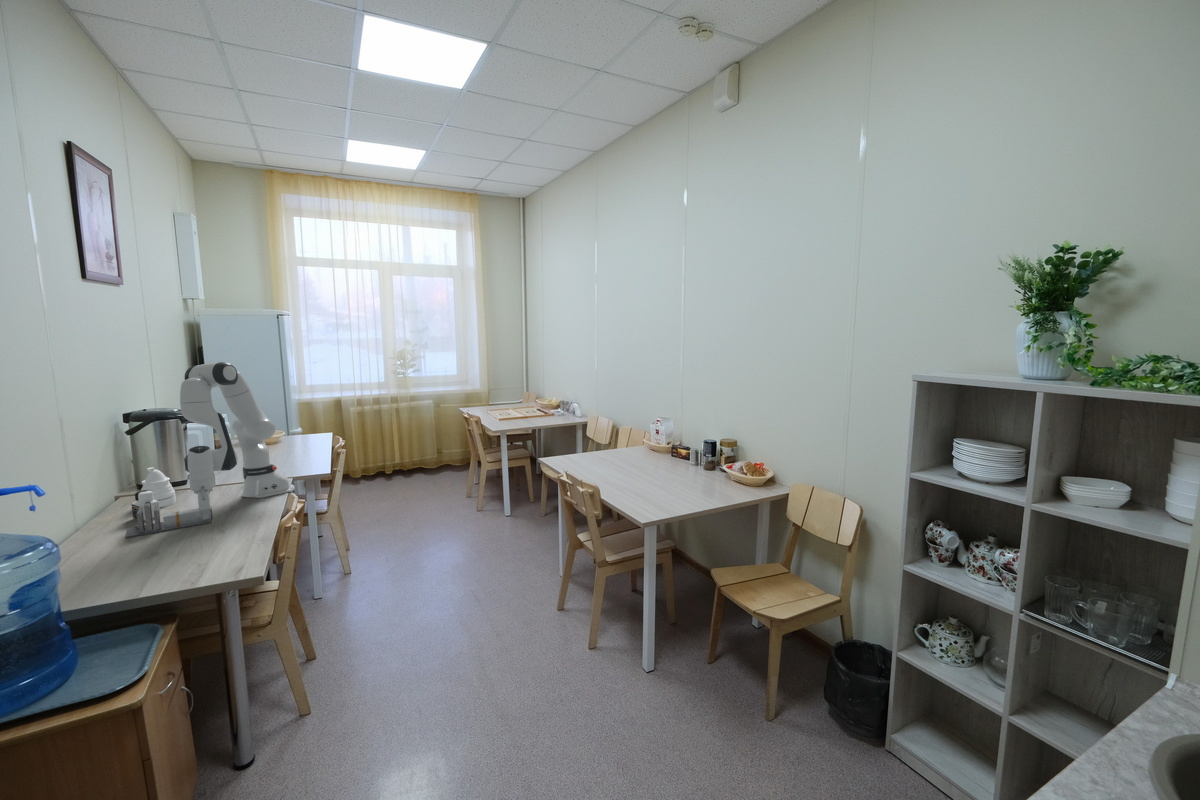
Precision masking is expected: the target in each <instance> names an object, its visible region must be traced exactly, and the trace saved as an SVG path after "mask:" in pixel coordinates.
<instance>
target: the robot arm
mask: <svg viewBox="0 0 1200 800" xmlns="http://www.w3.org/2000/svg"><path fill="white" fill-rule="evenodd" d="M215 387H216V388H219V389H220V391H221V394H222V396H223V398H224V400H225V402H226V404H227V406H228V408H229V410H230V412H231V413H232V414H233V415H234V416H235V417H236V419H235V420H234V421H233V423H232V425H231V427H232V431H233V433H235V435H236V437H237V440H238V441H237V442H238V443H239V448H240V450H241V453H242V462H243V464H242V465H243V467H242V478H243V490H242V494H241V496H242V497H243V498H257V499H263V498H266V497H271V496H276V495H277V496H278V495H281V494H285V493H291V492H293V491H295V490H296V488H295V485H294V484H292V483H290V480H289V477H287V476H286V474H285V475H284V474H282V473H281V472H278V471H277V470H278V467H277V466H276V465H275V464H273V463H271V460H270V450H269V448H268V446H267V444H266V443H265V441H266V440H269V439H271V438H273V436H274V435H275V433H276V429H277V428H276V425H275V424H274V422H272V421H271V420H270V419H269V418H268V416H267V415H266V413H265V412H264V411H263V410H262V408H261V407H260V406H259V404H258V402H257V400H256V398H255V396H254V394H253V393H252V390H251V387H250V386H249V384H248V382H247V381H246V379H245V377H244V376H243V375H242V373H241V372H239V371H238V370H237V369H236V367H235V366H234V365H233V364H232V363H230V362H226V361H220V362H206V363H203V364H196V365H193V366H191V367H188V368H187V369H186V371H185V373H184V380H183V381H182V382H181V385H180V391H179V393H180V394H179V403H180V405H179V406H180V412H181V414H182V417H184V418H185V420H187V421H189V422H191V423H195V424H197V425H198V424H199V425H202V426H208V427H211V428H213V429H214V430H215V431H216V433H217V436H218V439H219V443H220V448H218V449H217V448H215V449H212V448H211V447H210V446H208V445H207V446H206V445H197V446H193V447H191V448H189V449H188V451H187V454H186V456H185V457H184V458H183V460H184V468H185V469H184V471H186V472H188V473H189V477H188V480H189V481H188V482H189V490H190V491H191V492H193V493H194V495H197V501H198V508H199V511H202V515H203V519H207V518H208V510H210V506H211V503H210V502H211V500H210V499H211V498H210V497H211V496H210V494H211V493H212V492H213V489H214V488H215V487H216V486H217V485H216V475H215V473H214V472H219V471H221V472H223V471H231V470H232V469H234V468H235V467H236V466H237V465H238V462H239V461H238V455H237V452H236V450H235V448H234V447H233V443H232V439H231V436H230V434H229V430H228V427H227V424H226V422H225V418H224V416H223V414H221V412H218V411H217V410H216V409H215V408H214V406H213V400H212V394H211V391H212V389H213V388H215Z"/></svg>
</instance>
